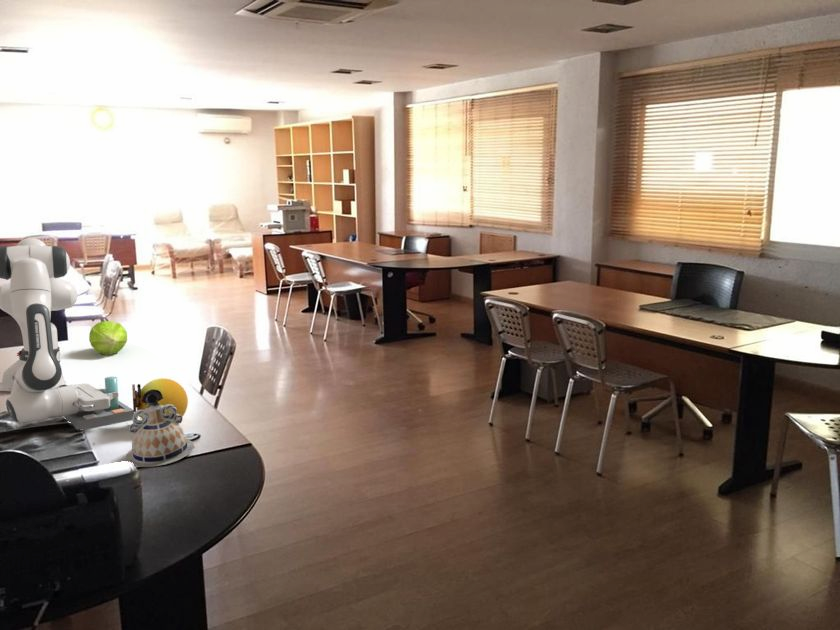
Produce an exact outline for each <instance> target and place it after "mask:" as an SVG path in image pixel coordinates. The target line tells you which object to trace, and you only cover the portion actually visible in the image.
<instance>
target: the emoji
mask: <svg viewBox="0 0 840 630" xmlns="http://www.w3.org/2000/svg"><path fill="white" fill-rule="evenodd" d="M131 386H132V388H131V389H132V407H133V411H134V413H135V412H136V411H138V410H145V409H146V407H147V406H148V405H149V404H147V403H143V402H142V399H143V395H144V394H145V393H146V392H147V391H150V390H152V389H154V390H159V391H160V392H161V394H162V397H163V399H161V400H160V401H158V404H160V405H162V406H165V405H167V404H172V405H173V406H175V407H176V409H177V414H180V415H181V416H182V417H184V416H185V414H186V412H187V409H188V404H189V401H188V400H189V399H188V394H187V392H186V389H184V387H183V386H182V385H181V384H180V383H179V382H177V381H175V380H173V379H171V378H162V377H161V378H157V379H153V380H151V381H148V382H147V383H146V384H144V385H143V386H142V387H141V383H138V384H137V385H136V384H131ZM136 387H137V390H136ZM145 404H147V405H145ZM137 407H138V409H137ZM168 411H171V410H169V409H168V410H167V411H166V414H170V413H168ZM138 418H141V420H143V419H144V418H143V416H140V415H139V416H138Z"/></svg>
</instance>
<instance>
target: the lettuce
mask: <svg viewBox="0 0 840 630" xmlns="http://www.w3.org/2000/svg"><path fill="white" fill-rule="evenodd" d="M88 337H89V338H88V339H89V344H90V346H91V347H92V348H93V349H94V350H95V351H96V352H97V353H99V354H101V355H103V356H107V355H108V356H109V355H114V354H117V353H119V352H120V351H122V349H123V348H124V347H125V345H126V344H127V342H128V332H127V331H126V329H125V327H124V326H123V325H122V324H121V323H120V322H115V321H112V320H111V321H109V320H103V321H100V322H97V323H96V324H94V325H93V326H92V327H91V328H90V332H89V336H88Z"/></svg>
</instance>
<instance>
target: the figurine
mask: <svg viewBox="0 0 840 630" xmlns="http://www.w3.org/2000/svg"><path fill="white" fill-rule="evenodd" d="M161 399H163V397H162V394H161V392H160V391H159V390H154V389H152V390H150V391H147V392H146V393H145V394H144V395H143V399H142V402H143V403H147V404H149V405H148V406H147V407H146V409H145V410H138V411H137V409H138V407H137V408H136V412H134V414H133V418H132V420H131V422H132V423H131V424H130V425H129V424H127V426H129V427H128V432H129V434H134V435H133V437H132V440H131V448H130V450H129V451H127V453H126V454H125V456H124V460H125V462H127V461H130V462H133V463H134V464H135V465H134V466H136V467H139V468H150V467H151V468H152V467H159V466H163V465H164V466H165V465H168V464H171V463H174V462H177V461H179V460H181V459H183V458H184V457H187V456H188V455H190V454H191V453H192V452H193V450H194V448H195V444H194V442H193V441H192V440H190V439H188V438H187V437H186V436H187V435H186V434H185V431H184V429H183V427H182V426H180V424H181V423H182V422H183V417H184V416H183V417H182V416H181V415H180V414H177V409H176V407H175V406H173V405H172V404H167V405H165V406H162V405H160V404H158V401H160V400H161ZM147 404H145V405H147ZM168 409H169V410H171V411H168V413H170V414H166V411H167V410H168ZM139 415H140V416H143V418H144V419H142V418H141V417H139ZM138 418H140V419H138Z"/></svg>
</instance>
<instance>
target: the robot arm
mask: <svg viewBox="0 0 840 630" xmlns="http://www.w3.org/2000/svg"><path fill="white" fill-rule="evenodd" d="M70 266H71V259H70V255H69V254H68V253H67V250H66V248H63V247H62V246H58V245H52V246H51V245H50V246H49V245H46V243H45V242H43V240H41V239H38V238H37V237H28V238H23V239H22V240H20V241H19V242H18V243H17V245H14V246H13V245H12V246H8V245H4V246H0V279H1V280H2V279H3V280H6V281H9V280H10V282H9V283H4V284H1V285H0V310H2V311H3V312H5V313H6V314H8V315H10V317H12V318H13V319H14V320H15V321H16V322H17V324H18V326H19V328H20V332H21V335H22V336H21V337H22V344H23V345H22V346H23V348H22V349H21V350H19V351H18V352H17V353H16V357H18V360H16V362H13V364H11V365H10V366H9V367H8V368H6V369H5V370H4V371H3V374H2V378H1V379H2V380H1V382H0V392H10V393H9V396H8V398H7V399H6V400H5V405H6V410H7V414H8V415H9V417H10V418H11V419H12V421H14V422H16V423H20V424H21V423H22V424H23V423H24V424H25V423H32V422H33V423H34V422H35V423H36V422H40V421H45V420H47V419H50V418H62V417H64V416H67V415H72V414H77V413H78V410H79V409H82V410H83V411H96V410H102V409H107V408H109V407H110V400H111V399H113V398H118V399H119V391H118V392H116V391H115V392H111V393H109V394H106V392H105V388H96V387H95V386H93V385H91V384H89V383H75V384H69V385H67V383H66V380H65V378H64V375H63V371H62V369H63V368H62V366H61V350H60V347H59V344H58V343H59V342H58V329H57V326H56V325H55V324H54V323H53V322H51V317H52V315H51V314H52V311H62V310H66V309H70V308H72V307H74V305H75V304H76V303H77V300H78V292H77V289H76V287H75V286H74V285H73V283H71V282H69V281H67V280H66V281H65V280H63V279H61V278H64V277H65V276H66V275H68V274H67V273H68V271H69V269H70Z"/></svg>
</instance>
